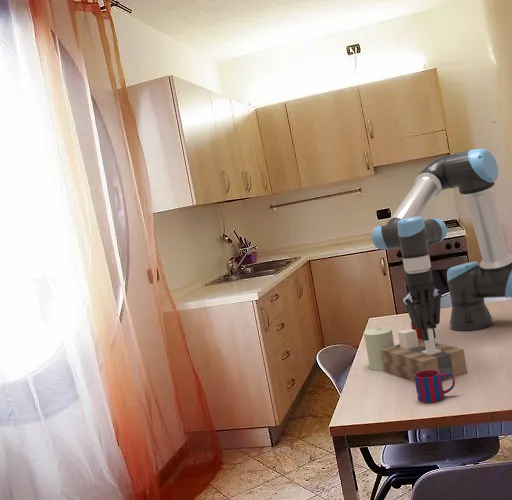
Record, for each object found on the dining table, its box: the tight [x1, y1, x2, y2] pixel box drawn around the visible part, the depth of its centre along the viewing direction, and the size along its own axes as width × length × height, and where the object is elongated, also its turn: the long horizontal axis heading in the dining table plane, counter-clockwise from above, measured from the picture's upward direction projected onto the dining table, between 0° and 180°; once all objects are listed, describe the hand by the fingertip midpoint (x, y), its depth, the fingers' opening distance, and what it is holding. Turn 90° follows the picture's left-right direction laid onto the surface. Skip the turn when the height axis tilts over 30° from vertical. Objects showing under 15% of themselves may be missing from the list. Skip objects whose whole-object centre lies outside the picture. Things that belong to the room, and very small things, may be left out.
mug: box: [414, 370, 456, 404], centre depth 163 cm, size 7×10×7 cm
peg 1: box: [397, 328, 419, 350], centre depth 191 cm, size 4×4×7 cm
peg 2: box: [422, 349, 441, 356], centre depth 181 cm, size 4×4×7 cm
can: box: [363, 326, 395, 371], centre depth 200 cm, size 9×9×12 cm
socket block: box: [381, 339, 468, 383], centre depth 186 cm, size 22×14×7 cm, turn 21°
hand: (430, 350), depth 180 cm, fingers closed
